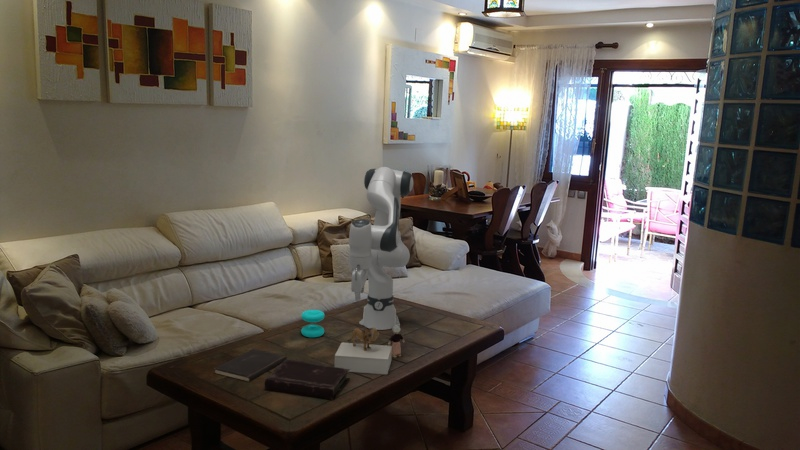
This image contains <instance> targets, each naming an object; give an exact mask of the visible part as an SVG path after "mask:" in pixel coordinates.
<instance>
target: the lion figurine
mask: <svg viewBox="0 0 800 450" xmlns="http://www.w3.org/2000/svg"><path fill="white" fill-rule="evenodd" d="M379 335H380V332H379V331H378V330H376V328H367V329H364V330H363V331H362V329H360V328H359V327H356V328H354V329H353V330H352V335H351V337H350V338H349V339H347V342H351V341H352V343H353V346H356V345H355V343H357V342H358V340H359V341H360V342H363V343H362V344H364V351H367V348H368V349H370V348H371V347H369V344H373V342H374V341H376V340H377V339H378V338H379ZM357 339H358V340H357ZM366 344H367V348H366Z"/></svg>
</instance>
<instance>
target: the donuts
mask: <svg viewBox="0 0 800 450" xmlns="http://www.w3.org/2000/svg"><path fill="white" fill-rule="evenodd" d="M325 318H326V317H325V312H324V311H322V310H319V309H307V310H305V311H303V312H302V313H301V319H302V320H303V321H305V322H307V323H318V322H321V321H323V320H324V319H325ZM300 332H301V334H302V336H304V337H305V338H306V337H307V338H311V339H312V338H313V339H314V338H320V337H321V336H323V335H324V333H325V329H324V327H323V326H321V325H318V324H306V325H304V326H303V327H302V328H301V331H300Z"/></svg>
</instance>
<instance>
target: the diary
mask: <svg viewBox="0 0 800 450" xmlns="http://www.w3.org/2000/svg"><path fill="white" fill-rule="evenodd" d="M349 370H350V369H344V368H337V367H335V366H328V365H321V364H315V363H311V362H306V361H301V360H294V359H288V358H287V359H286V360H285V361H284V362H283V363H281V364H280V365H278V366H276V367H275V368H274V369H273V371H272V372H271V373H270V374H269V375H268V376H267V377H265V379H264V390H267V391H272V392H279V393H281V392H282V393H286V394H293V395H298V396H299V395H300V396H306V397H315V398H321V399H326V400H334V398H335V397H334V396H335V394H336V393H337V392H338V391H339V390H343V388H344V387H345V386H346V385H347V384H348V382H349V381H350V378H351V377H347V374H348V373H349V372H348V371H349Z"/></svg>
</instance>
